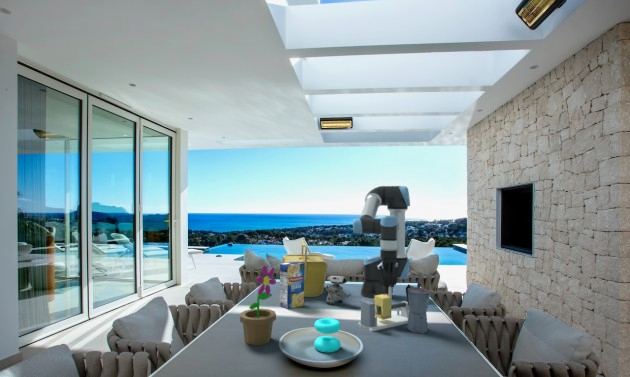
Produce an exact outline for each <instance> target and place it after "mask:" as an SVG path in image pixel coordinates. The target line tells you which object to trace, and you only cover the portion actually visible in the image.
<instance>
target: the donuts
mask: <svg viewBox="0 0 630 377" xmlns="http://www.w3.org/2000/svg"><path fill="white" fill-rule="evenodd" d="M341 324H342V323H341V322H340V321H339V320H337V319H335V318H331V317H329V318H328V317H326V318H324V317H323V318H320V319H317V320H315V322H314V328H315V330H316V331H317V332H318V333H322V334H327V335H322V336H318V337H317V338H316V339H315V340H314V343H313V345H314V348H315V349H316V350H317V351H319V352H321V353H335V352H337V351H339V350H340V348H341V344H342V343H341V342H340V340H339V339H338V338H337V337H335V336H331V335H330V334H336V333H337V332H339V331H340V330H341V327H342V326H341Z"/></svg>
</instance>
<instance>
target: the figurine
mask: <svg viewBox="0 0 630 377" xmlns="http://www.w3.org/2000/svg"><path fill="white" fill-rule="evenodd" d="M326 279H327V282H330V283H331V284H330V283H328V284H327V285H326V287H325V289H326V290H325V292H327V296H326V302H325V304H326V305H329V306H333V305H334V302H338V303H340V304H343V302H344V301H343V300H344V298H343V297H346V298H349V297H350V296H352V293H350V292H349V294H347V293H346V292H345V291H344V287H343V286H341V285H344V284H347V283H348V279H347V277H346V276H345V275H344V276H341V275H330V276H328V277H326Z"/></svg>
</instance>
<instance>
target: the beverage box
mask: <svg viewBox="0 0 630 377" xmlns="http://www.w3.org/2000/svg"><path fill="white" fill-rule="evenodd" d="M279 266H280V267H279V307H281V308H283V309H286V310H289V309H294V308H298V307H303V306H304V305H305V303H304V302H305V297H304V263H300V262H291V263H283V262H282V263H280V265H279Z"/></svg>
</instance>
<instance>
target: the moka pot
mask: <svg viewBox="0 0 630 377" xmlns="http://www.w3.org/2000/svg"><path fill="white" fill-rule="evenodd" d="M416 286H417V287H416ZM416 286H414V285H410V284H407V285H406V287H405V294H406V299H407V301H406V302H408V305H409V307H410V311H409V318H408V323H407V324H406V325H407V326H406V328H407V330H408V331H410V332H411V333H416V334H425V333H427V332H428V331H429V325H428V315H427V311H428V309H429V303H430V296H431V290H429V289H428V288H425V287H421V286H422V284H421V283H417V285H416Z"/></svg>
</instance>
